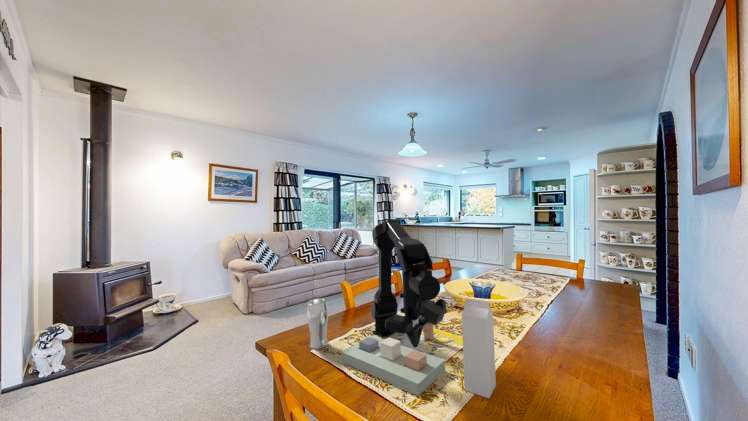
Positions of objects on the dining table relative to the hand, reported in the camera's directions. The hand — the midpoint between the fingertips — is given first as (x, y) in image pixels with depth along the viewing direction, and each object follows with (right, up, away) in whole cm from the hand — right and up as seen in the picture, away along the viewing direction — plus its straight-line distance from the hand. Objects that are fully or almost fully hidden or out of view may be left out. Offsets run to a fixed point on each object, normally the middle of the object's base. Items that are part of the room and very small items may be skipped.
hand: (415, 347), depth 79 cm
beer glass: (-30, -9, +21) cm, 38 cm away
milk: (+15, -8, -6) cm, 18 cm away
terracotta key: (0, -7, 0) cm, 7 cm away
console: (-6, -8, +6) cm, 12 cm away
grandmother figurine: (+7, -8, +22) cm, 24 cm away
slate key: (-13, -8, +11) cm, 19 cm away
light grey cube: (-6, -6, +6) cm, 10 cm away
